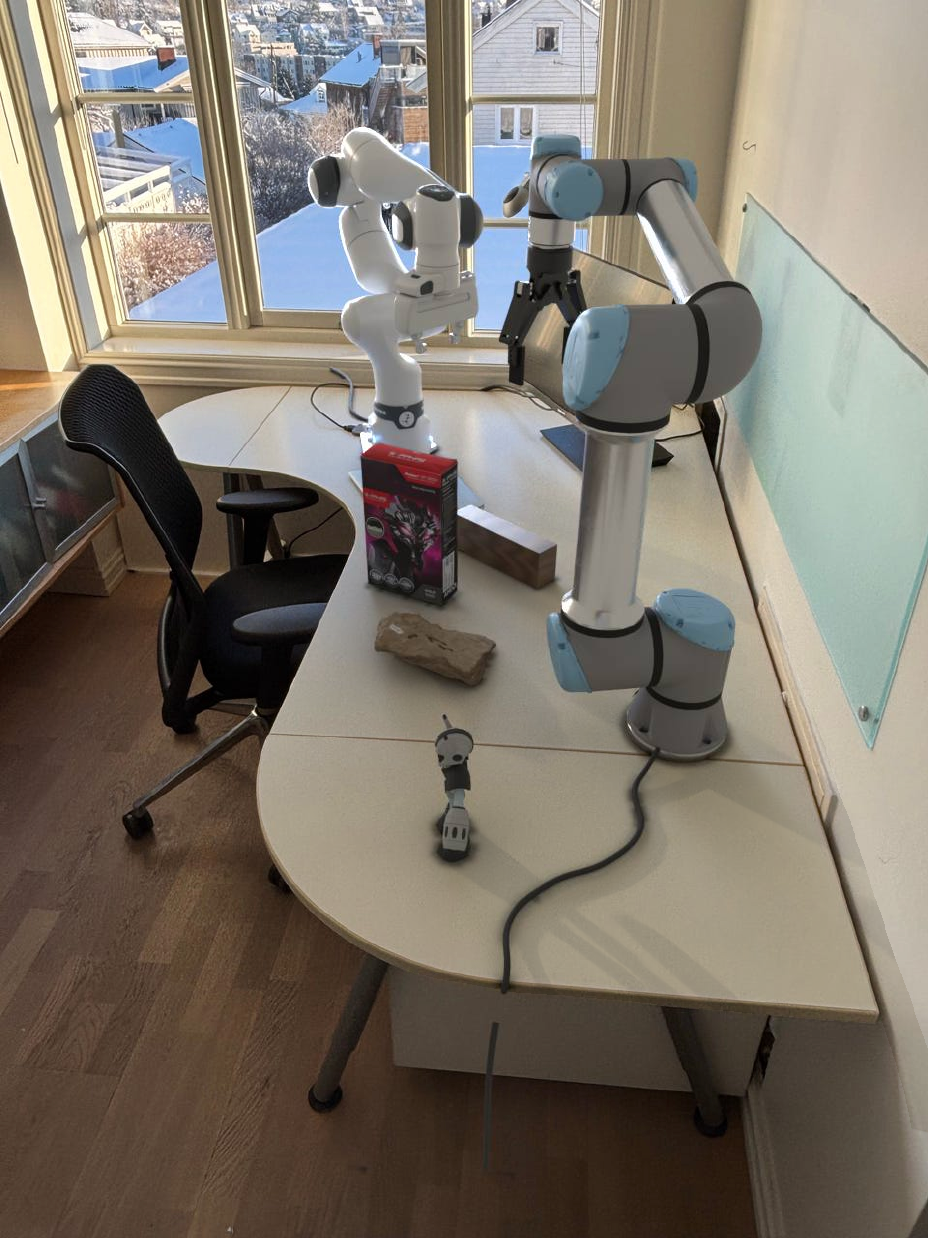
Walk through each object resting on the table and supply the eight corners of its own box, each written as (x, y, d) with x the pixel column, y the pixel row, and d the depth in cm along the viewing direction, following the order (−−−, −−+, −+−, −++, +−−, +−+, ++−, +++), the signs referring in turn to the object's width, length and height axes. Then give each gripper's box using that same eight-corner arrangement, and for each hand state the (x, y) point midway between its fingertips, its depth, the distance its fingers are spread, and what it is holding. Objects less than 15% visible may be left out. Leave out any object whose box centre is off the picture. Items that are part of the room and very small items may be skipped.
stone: (350, 659, 152) (357, 626, 150) (382, 628, 166) (388, 598, 163) (469, 701, 149) (478, 669, 146) (492, 666, 162) (500, 636, 160)
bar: (554, 579, 180) (557, 544, 176) (537, 588, 177) (539, 553, 173) (470, 537, 194) (470, 504, 190) (452, 545, 191) (452, 512, 187)
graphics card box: (364, 585, 178) (356, 453, 162) (384, 569, 183) (377, 440, 167) (442, 608, 171) (441, 473, 156) (460, 591, 176) (461, 458, 161)
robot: (476, 896, 116) (478, 779, 105) (437, 897, 116) (436, 781, 105) (467, 786, 132) (469, 675, 121) (434, 787, 132) (432, 676, 121)
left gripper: (464, 265, 188) (463, 333, 196) (387, 283, 176) (390, 354, 184) (486, 271, 184) (484, 340, 192) (410, 289, 172) (411, 362, 180)
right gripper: (582, 229, 156) (572, 353, 168) (478, 251, 142) (476, 385, 154) (617, 236, 152) (605, 362, 164) (514, 260, 137) (509, 397, 149)
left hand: (438, 347), depth 188 cm, fingers open, 8 cm apart
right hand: (542, 374), depth 159 cm, fingers open, 13 cm apart
